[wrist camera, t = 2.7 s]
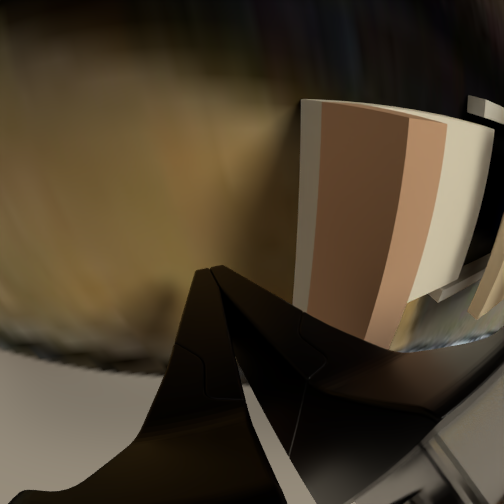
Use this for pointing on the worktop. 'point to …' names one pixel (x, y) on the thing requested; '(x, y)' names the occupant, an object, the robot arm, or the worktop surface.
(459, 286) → the beige open box
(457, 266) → the beige blocky piece
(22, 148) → the worktop surface
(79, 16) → the worktop surface
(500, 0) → the worktop surface
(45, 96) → the worktop surface
